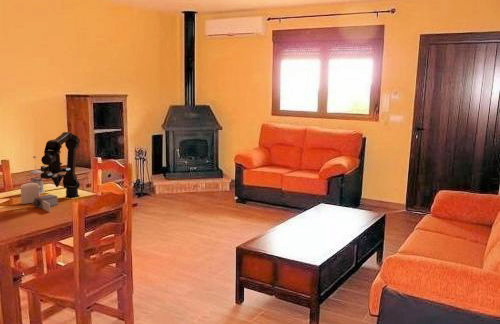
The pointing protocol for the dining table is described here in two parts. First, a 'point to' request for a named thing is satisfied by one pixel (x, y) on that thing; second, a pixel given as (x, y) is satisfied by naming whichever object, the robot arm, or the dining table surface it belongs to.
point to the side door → (46, 205)
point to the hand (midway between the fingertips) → (57, 186)
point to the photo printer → (29, 192)
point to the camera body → (48, 198)
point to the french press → (37, 179)
